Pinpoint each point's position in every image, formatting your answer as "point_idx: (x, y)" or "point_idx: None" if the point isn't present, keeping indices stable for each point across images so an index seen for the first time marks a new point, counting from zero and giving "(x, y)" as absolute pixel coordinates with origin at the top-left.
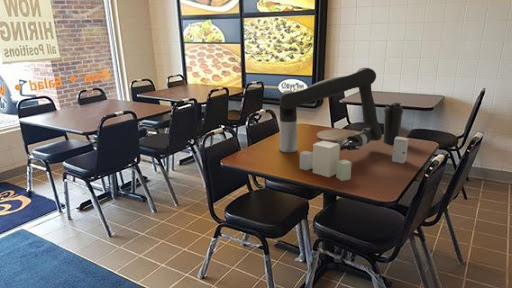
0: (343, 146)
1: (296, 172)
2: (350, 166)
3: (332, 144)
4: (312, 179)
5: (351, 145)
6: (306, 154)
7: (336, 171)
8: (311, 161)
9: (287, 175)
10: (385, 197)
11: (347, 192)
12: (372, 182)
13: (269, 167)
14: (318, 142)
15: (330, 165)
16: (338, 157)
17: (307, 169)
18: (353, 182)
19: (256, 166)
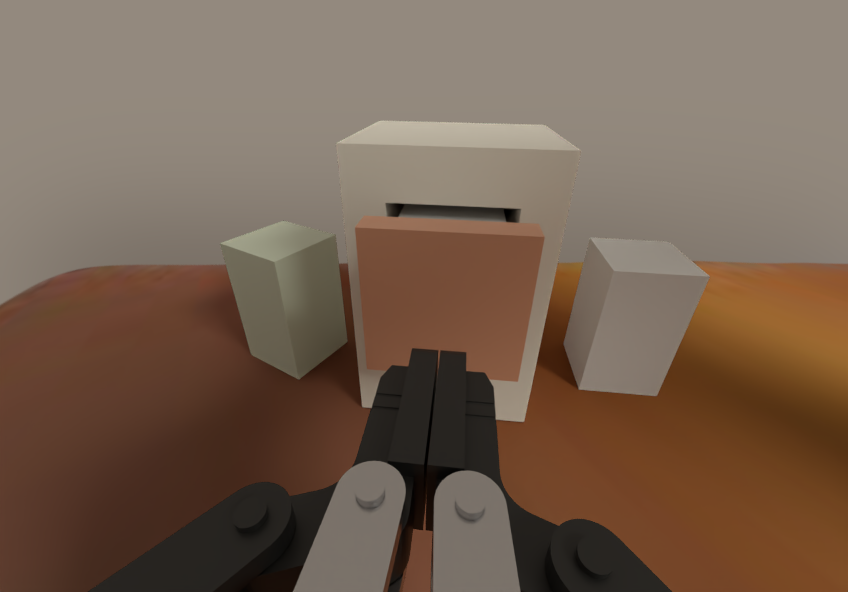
0: (381, 440)
1: None
2: (232, 270)
3: (399, 134)
4: None
5: (159, 550)
6: (602, 240)
7: (343, 307)
8: (588, 329)
9: (575, 277)
10: (78, 282)
11: None
12: (88, 373)
13: (744, 299)
14: (553, 134)
15: None
16: (352, 287)
17: (566, 341)
18: (229, 331)
19: (793, 286)
